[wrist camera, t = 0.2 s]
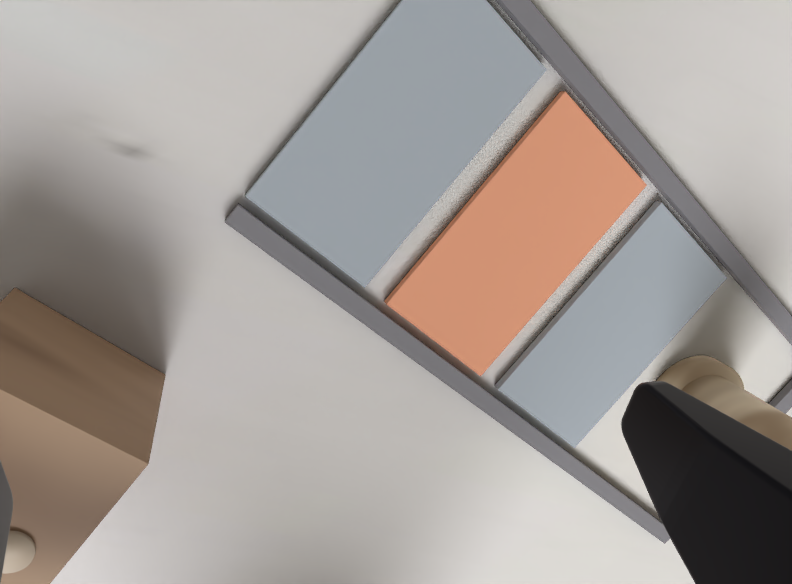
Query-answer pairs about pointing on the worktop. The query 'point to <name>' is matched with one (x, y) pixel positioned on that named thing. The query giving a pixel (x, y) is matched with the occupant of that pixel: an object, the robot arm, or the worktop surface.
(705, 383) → the birch pawn
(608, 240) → the worktop surface
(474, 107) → the game track
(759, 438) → the robot arm
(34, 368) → the walnut die
